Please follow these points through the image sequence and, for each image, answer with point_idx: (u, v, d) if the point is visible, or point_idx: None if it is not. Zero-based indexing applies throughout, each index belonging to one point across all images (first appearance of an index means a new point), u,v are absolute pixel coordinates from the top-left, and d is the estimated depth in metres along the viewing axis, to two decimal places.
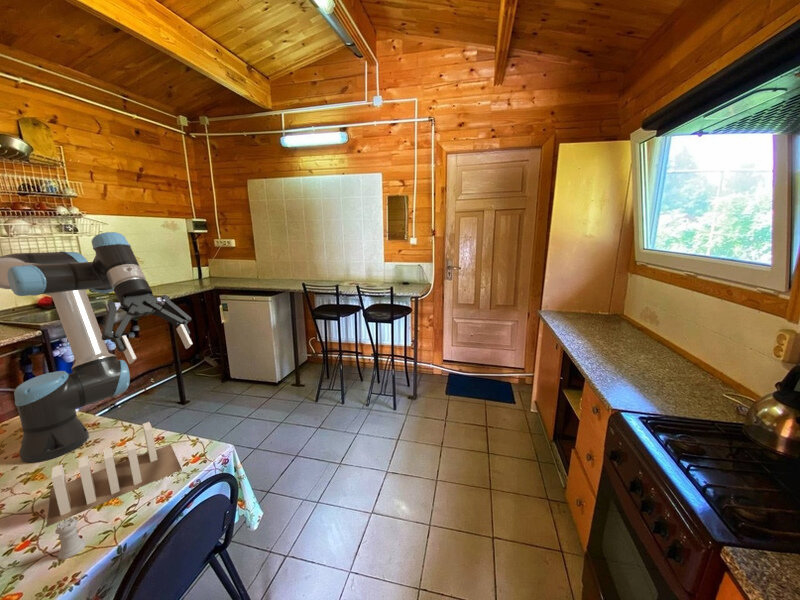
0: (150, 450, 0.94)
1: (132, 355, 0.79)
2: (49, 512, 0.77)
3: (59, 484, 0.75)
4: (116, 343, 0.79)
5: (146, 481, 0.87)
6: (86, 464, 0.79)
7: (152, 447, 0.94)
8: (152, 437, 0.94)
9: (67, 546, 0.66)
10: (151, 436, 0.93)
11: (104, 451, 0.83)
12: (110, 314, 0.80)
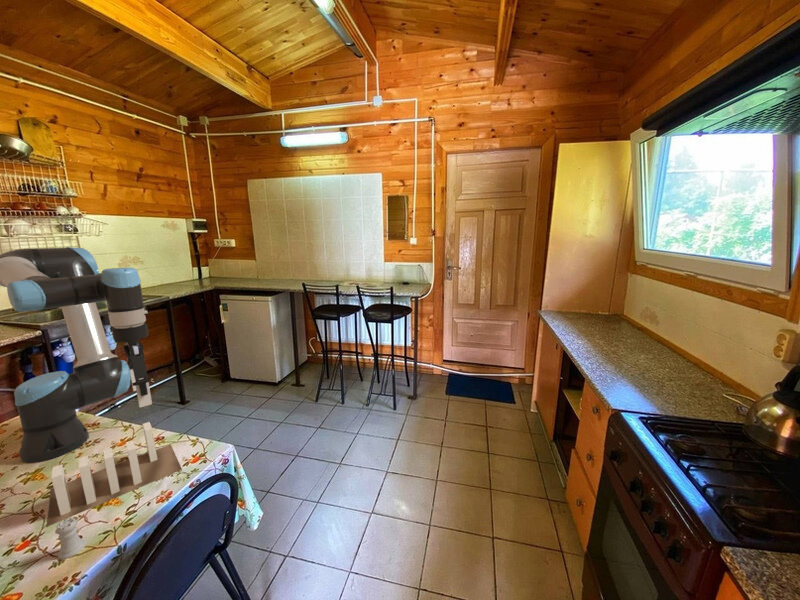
0: (150, 450, 0.94)
1: (151, 400, 0.89)
2: (49, 512, 0.77)
3: (59, 484, 0.75)
4: (143, 388, 0.86)
5: (146, 481, 0.87)
6: (86, 464, 0.79)
7: (152, 447, 0.94)
8: (152, 437, 0.94)
9: (67, 546, 0.66)
10: (151, 436, 0.93)
11: (104, 451, 0.83)
12: None
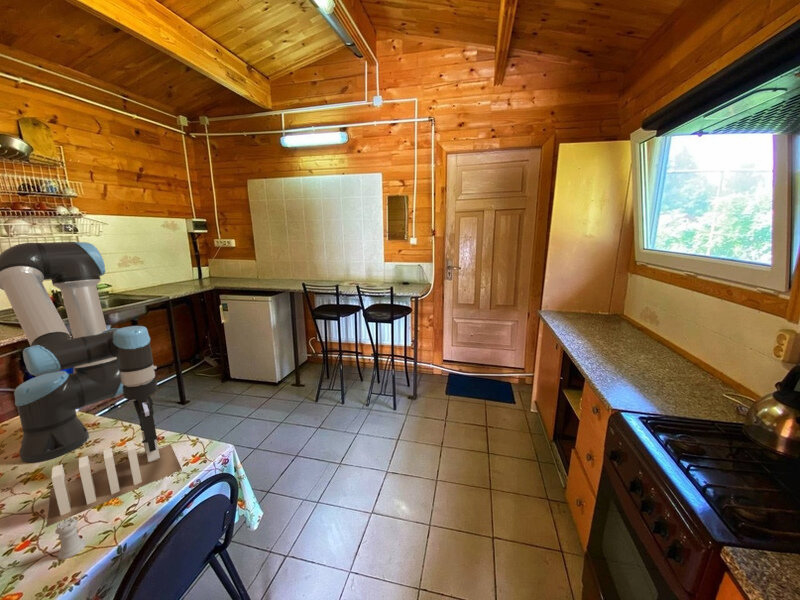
0: None
1: None
2: (49, 512, 0.77)
3: (59, 484, 0.75)
4: (152, 444, 0.92)
5: (146, 481, 0.87)
6: (86, 464, 0.79)
7: None
8: None
9: (67, 546, 0.66)
10: None
11: (104, 451, 0.83)
12: (153, 420, 0.91)
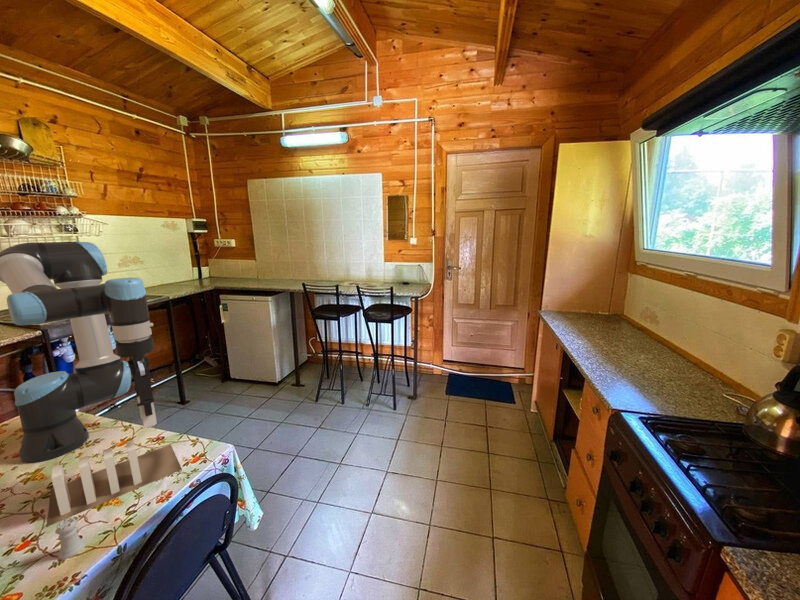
0: None
1: None
2: (49, 512, 0.77)
3: (59, 484, 0.75)
4: (148, 408, 0.84)
5: (146, 481, 0.87)
6: (86, 464, 0.79)
7: None
8: None
9: (67, 546, 0.66)
10: None
11: (104, 451, 0.83)
12: None
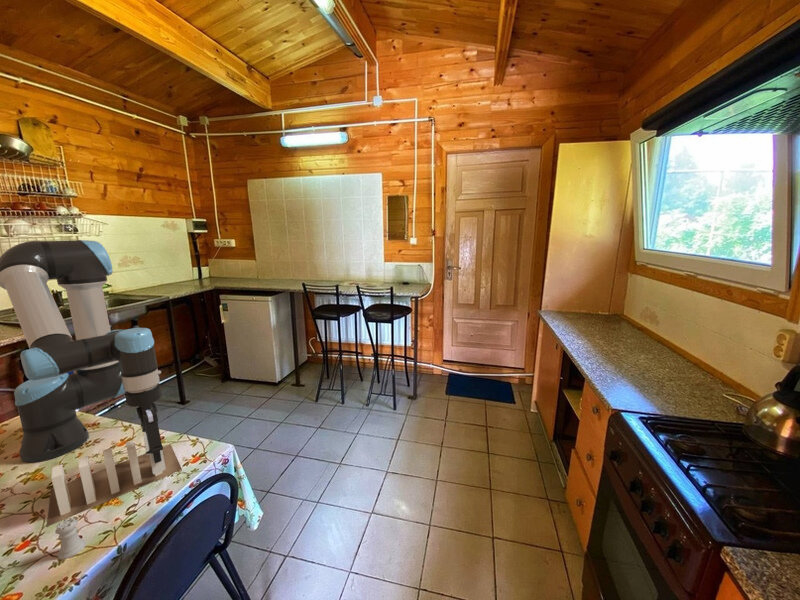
0: None
1: (164, 465, 0.87)
2: (49, 512, 0.77)
3: (59, 484, 0.75)
4: (157, 455, 0.84)
5: (146, 481, 0.87)
6: (86, 464, 0.79)
7: None
8: None
9: (67, 546, 0.66)
10: None
11: (104, 451, 0.83)
12: (158, 427, 0.84)
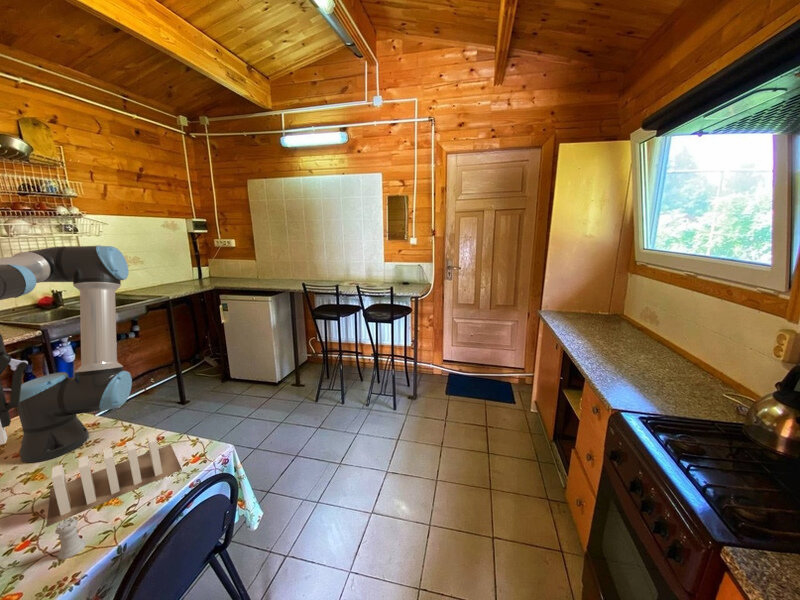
0: (155, 463, 0.88)
1: None
2: (49, 512, 0.77)
3: (59, 484, 0.75)
4: None
5: (146, 481, 0.87)
6: (86, 464, 0.79)
7: (157, 460, 0.88)
8: (157, 450, 0.88)
9: (67, 546, 0.66)
10: (156, 449, 0.88)
11: (104, 451, 0.83)
12: None
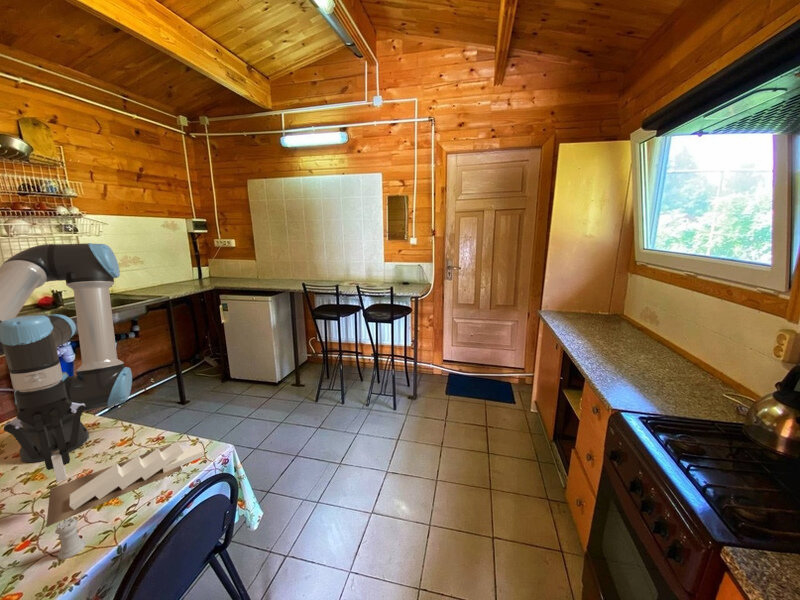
0: (178, 462, 0.92)
1: (57, 478, 0.76)
2: (49, 512, 0.77)
3: (110, 481, 0.82)
4: (45, 461, 0.75)
5: (146, 481, 0.87)
6: (143, 466, 0.87)
7: (181, 463, 0.93)
8: (194, 459, 0.95)
9: (67, 546, 0.66)
10: (195, 458, 0.95)
11: (158, 450, 0.92)
12: (18, 439, 0.71)
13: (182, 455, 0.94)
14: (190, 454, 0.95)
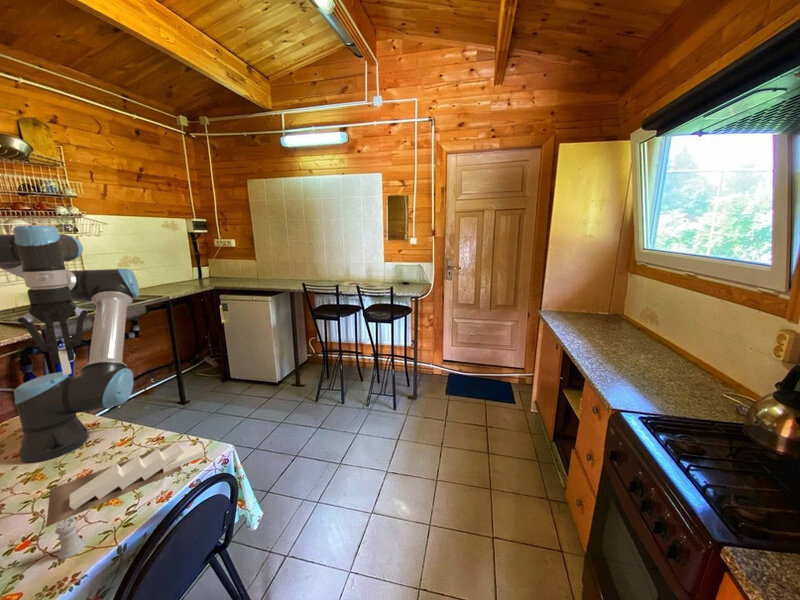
0: (178, 462, 0.92)
1: (63, 371, 0.87)
2: (49, 512, 0.77)
3: (110, 481, 0.82)
4: (53, 356, 0.86)
5: (146, 481, 0.87)
6: (143, 466, 0.87)
7: (181, 463, 0.93)
8: (194, 459, 0.95)
9: (67, 546, 0.66)
10: (195, 458, 0.95)
11: (158, 450, 0.92)
12: (30, 331, 0.82)
13: (182, 455, 0.94)
14: (190, 454, 0.95)
